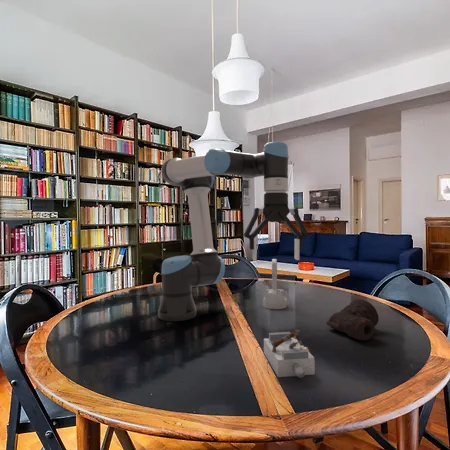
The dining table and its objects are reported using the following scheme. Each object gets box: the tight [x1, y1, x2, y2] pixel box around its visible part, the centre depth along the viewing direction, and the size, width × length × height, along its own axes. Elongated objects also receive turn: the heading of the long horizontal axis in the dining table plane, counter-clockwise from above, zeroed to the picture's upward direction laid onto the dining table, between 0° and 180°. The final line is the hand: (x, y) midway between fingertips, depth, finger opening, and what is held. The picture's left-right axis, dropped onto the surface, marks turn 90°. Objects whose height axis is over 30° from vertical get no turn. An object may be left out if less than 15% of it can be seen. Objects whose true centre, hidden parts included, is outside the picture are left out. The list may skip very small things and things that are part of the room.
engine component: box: [262, 258, 288, 310], centre depth 137 cm, size 11×20×10 cm
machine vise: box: [263, 331, 316, 379], centre depth 80 cm, size 10×17×6 cm, turn 6°
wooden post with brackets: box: [271, 329, 304, 350], centre depth 81 cm, size 2×8×4 cm, turn 97°
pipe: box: [326, 298, 380, 342], centre depth 103 cm, size 10×15×15 cm
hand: (275, 259), depth 99 cm, fingers open, 13 cm apart
